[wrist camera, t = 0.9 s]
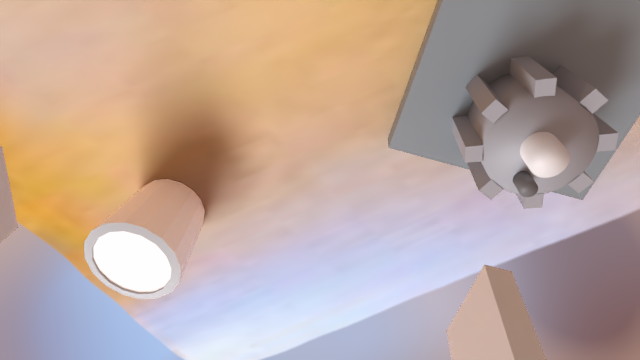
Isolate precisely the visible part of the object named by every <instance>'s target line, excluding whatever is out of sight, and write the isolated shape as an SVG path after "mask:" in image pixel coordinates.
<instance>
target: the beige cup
mask: <svg viewBox="0 0 640 360" xmlns="http://www.w3.org/2000/svg"><path fill="white" fill-rule="evenodd" d="M204 215H205V210H204V207H203V204H202V201H201V199H200V198H199V197H198V196H197V195H196V193H195V192H194V191H193V190H192V189H190V188H189V187H187V186H186V185H184V184H183V183H181V182H177V181H173V180H170V179H160V180H154V181H152V182H150V183H148V184H147V185H145V186H144V187H142V188H141V189H140V190H139V191H138V192H137V193H135V194H134V195H133V196H132V197H131V198H129V199H128V200H127V201H126V202H125V203H124V204H122V205H121V206H120V207H119V208H118V209H117V210H115V211H114V212H113V213H112V214H111V215H109V216H108V217H107V218H106V219H105V220H104V221H102V222H101V223H100V224H99V225H98V226H97V227H95V228H94V229H93V230H92V231H91V232H90V234H89V236H88V237H87V239H86V241H85V242H84V254H85V259H86V261H87V263H88V265H89V267H90V269H91V271H92V273H93V274H94V275H95V276H96V277H97V278H98V279H99V280H100V281H102V282H103V283H104V284H105V285H106V286H108V287H109V288H111V289H113V290H115V291H117V292H118V293H120V294H122V295H126V296H130V297H134V298H138V299H157V298H160V297H162V296H164V295H167V294H169V293H171V292H172V291H173V289H174V288H175V287H176V286H177V284H178V283H179V282H180V279H181V277H182V274H183V272H184V269H185V267H186V264H187V262H188V259H189V257H190V254H191V252H192V249H193V247H194V245H195V242H196V240H197V237H198V235H199V232H200V230H201V227H202V225H203V222H204Z"/></svg>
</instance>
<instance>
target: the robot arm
mask: <svg viewBox="0 0 640 360" xmlns="http://www.w3.org/2000/svg"><path fill="white" fill-rule="evenodd" d="M17 228H18V225H17V220H16V215H15V209H14V204H13V199H12V194H11V189H10V184H9V179H8V174H7V169H6V164H5V159H4V154H3V148H2V147H1V146H0V243H1V242H2V241H3V240H4V239H5V238H6V237H8V236H9V235H10V234H11V233H12V232H13V231H15V230H16V229H17ZM447 336H448V342H449V347H450V353H451V358H452V360H546V358H545V355H544V353H543V350H542V348H541V345H540V342H539V340H538V337H537V335H536V332H535V330H534V327H533V324H532V322H531V319H530V317H529V314H528V312H527V309H526V306H525V304H524V302H523V299H522V296H521V294H520V291H519V289H518V286H517V284H516V281H515V278H514V276H513V273H512V272H511V271H508V270H504V269H500V268H496V267H492V266H488V265H484V266H483V268H482V270H481V271H480V273H479V275H478V277H477V278H476V280H475V282H474V284H473V285H472V287H471V289H470V291H469V292H468V294H467V296H466V298H465V299H464V301H463V303H462V305H461V306H460V308H459V310H458V312H457V313H456V315H455V317H454V319H453V320H452V322H451V324H450V326H449V327H448V329H447Z"/></svg>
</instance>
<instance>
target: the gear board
mask: <svg viewBox="0 0 640 360" xmlns="http://www.w3.org/2000/svg"><path fill="white" fill-rule="evenodd" d="M639 115H640V0H438V1H437V4H436V7H435V10H434V13H433V15H432V18H431V21H430V24H429V26H428V29H427V32H426V35H425V37H424V40H423V43H422V46H421V49H420V51H419V54H418V57H417V60H416V62H415V65H414V68H413V71H412V73H411V76H410V79H409V82H408V85H407V87H406V90H405V93H404V96H403V98H402V101H401V104H400V107H399V109H398V112H397V115H396V118H395V121H394V123H393V126H392V129H391V132H390V134H389V137H388V145H389V148H391V149H395V150H399V151H403V152H406V153H410V154H414V155H417V156H421V157H425V158H429V159H432V160H436V161H440V162H443V163H447V164H451V165H455V166H458V167H462V168H466V169H469V170H470V171H471V173H472V175H473V178H474V180H475V182H476V185H477V187H478V189H479V191H480V192H482V193H483V194H484V195H486V196H487V197H488V198H489V199H492V198H494V197H495V196H496V195H497V194H498V193H500V192H501V191H502V190H503V189H504V190H506V191H509V192H512V193H515V194H516V195H517V197H518V199H519V200H520V202H521V204H522V206H523V207H524V209H525V208H540V207H542V204H543V195H544V193H549V192H555V193H558V194H562V195H566V196H570V197H573V198H577V199H581V200H583V199H584V197H585V196H586V194H587V193H588V191H589V190H590V188H591V187H592V185H593V184H594V182H595V181H596V179H597V178H598V176H599V175H600V173H601V172H602V170H603V169H604V167H605V166H606V165H607V163H608V162H609V160H610V159H611V157H612V156H613V154H614V153H615V151H616V150H617V148H618V147H619V145H620V144H621V142H622V141H623V139H624V138H625V136H626V135H627V133H628V132H629V130H630V129H631V127H632V126H633V124H634V123H635V121H636V120H637V118H638V117H639Z"/></svg>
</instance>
